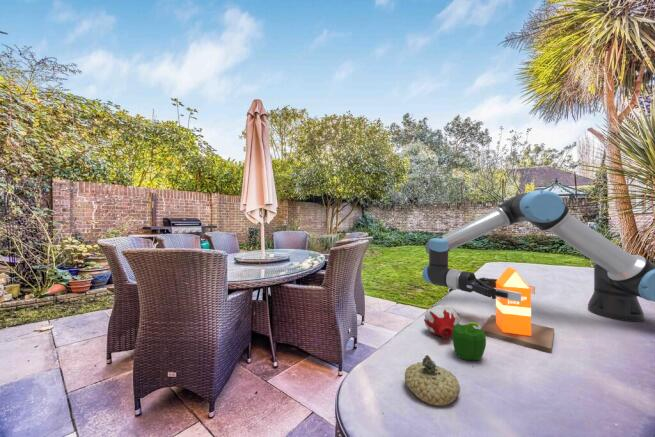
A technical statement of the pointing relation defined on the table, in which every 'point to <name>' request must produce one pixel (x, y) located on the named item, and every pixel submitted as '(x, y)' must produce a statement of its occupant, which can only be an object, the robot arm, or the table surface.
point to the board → (537, 340)
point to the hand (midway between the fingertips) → (528, 293)
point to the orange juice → (513, 304)
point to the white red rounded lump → (441, 320)
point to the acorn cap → (432, 383)
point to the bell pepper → (469, 341)
